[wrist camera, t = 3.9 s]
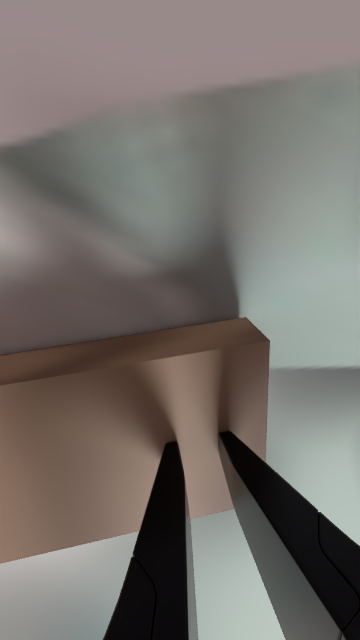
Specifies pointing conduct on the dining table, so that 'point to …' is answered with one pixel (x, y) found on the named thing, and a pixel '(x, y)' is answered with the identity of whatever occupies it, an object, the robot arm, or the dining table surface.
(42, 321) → the dining table surface
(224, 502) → the tan flat wooden block
